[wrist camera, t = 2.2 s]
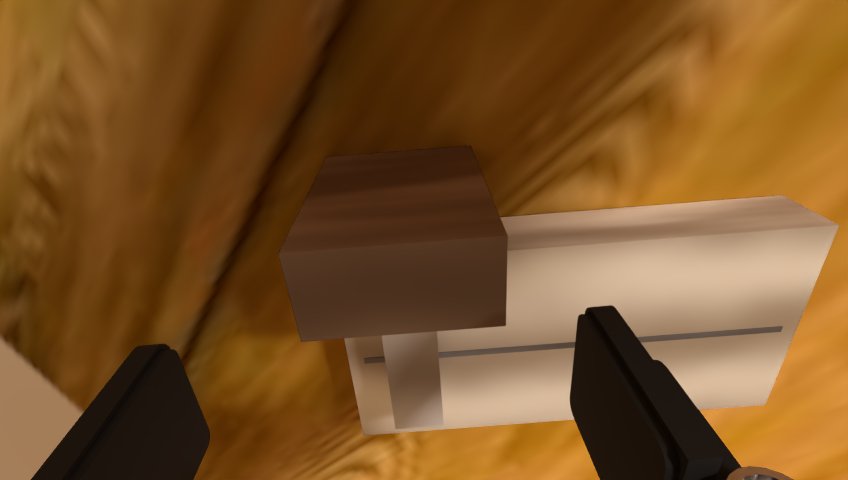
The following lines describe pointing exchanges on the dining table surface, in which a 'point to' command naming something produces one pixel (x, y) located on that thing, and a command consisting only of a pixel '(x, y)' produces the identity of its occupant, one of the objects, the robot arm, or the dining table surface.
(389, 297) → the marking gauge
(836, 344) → the dining table surface
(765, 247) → the birch plank
